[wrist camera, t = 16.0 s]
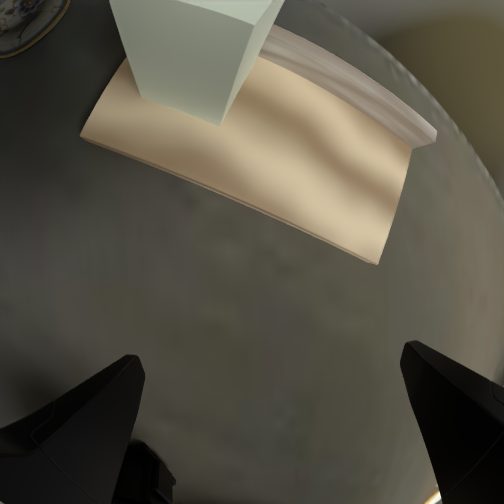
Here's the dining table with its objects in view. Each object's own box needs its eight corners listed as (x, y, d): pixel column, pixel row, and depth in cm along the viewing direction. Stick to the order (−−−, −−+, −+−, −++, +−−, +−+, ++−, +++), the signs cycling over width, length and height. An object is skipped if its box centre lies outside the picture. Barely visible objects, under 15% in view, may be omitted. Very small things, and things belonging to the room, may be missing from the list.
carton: (219, 126, 18) (254, 25, 7) (141, 97, 16) (106, -11, 6) (255, 61, 18) (308, -43, 7) (183, 35, 16) (189, -75, 6)
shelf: (367, 262, 23) (401, 269, 18) (86, 141, 17) (63, 122, 13) (404, 139, 23) (437, 128, 18) (164, 20, 17) (161, -13, 13)
